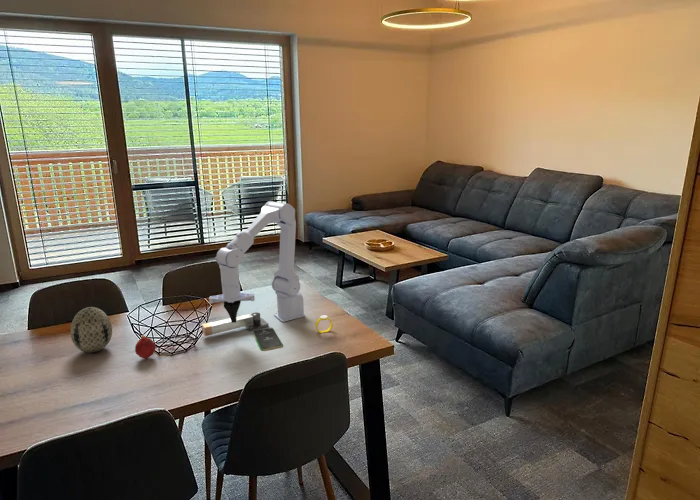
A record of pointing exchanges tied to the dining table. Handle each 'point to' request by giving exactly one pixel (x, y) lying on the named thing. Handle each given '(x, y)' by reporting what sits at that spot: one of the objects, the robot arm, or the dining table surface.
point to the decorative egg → (91, 330)
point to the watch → (324, 319)
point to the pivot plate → (258, 325)
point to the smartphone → (267, 339)
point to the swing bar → (230, 324)
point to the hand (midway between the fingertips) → (234, 321)
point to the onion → (145, 347)
